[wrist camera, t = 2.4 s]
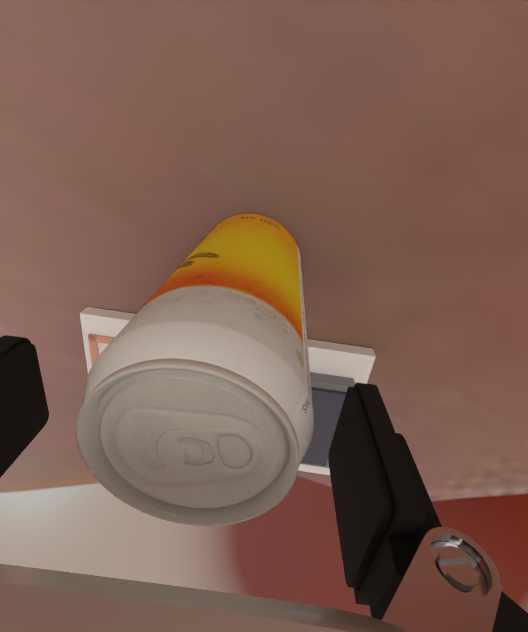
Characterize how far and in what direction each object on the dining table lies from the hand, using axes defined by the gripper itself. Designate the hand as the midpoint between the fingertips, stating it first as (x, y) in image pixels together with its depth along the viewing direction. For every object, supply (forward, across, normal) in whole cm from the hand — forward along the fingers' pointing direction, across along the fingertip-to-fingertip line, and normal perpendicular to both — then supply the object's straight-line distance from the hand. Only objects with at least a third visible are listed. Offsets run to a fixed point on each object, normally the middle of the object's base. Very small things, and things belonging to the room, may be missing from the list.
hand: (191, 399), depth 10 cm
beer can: (+13, -1, 0) cm, 13 cm away
